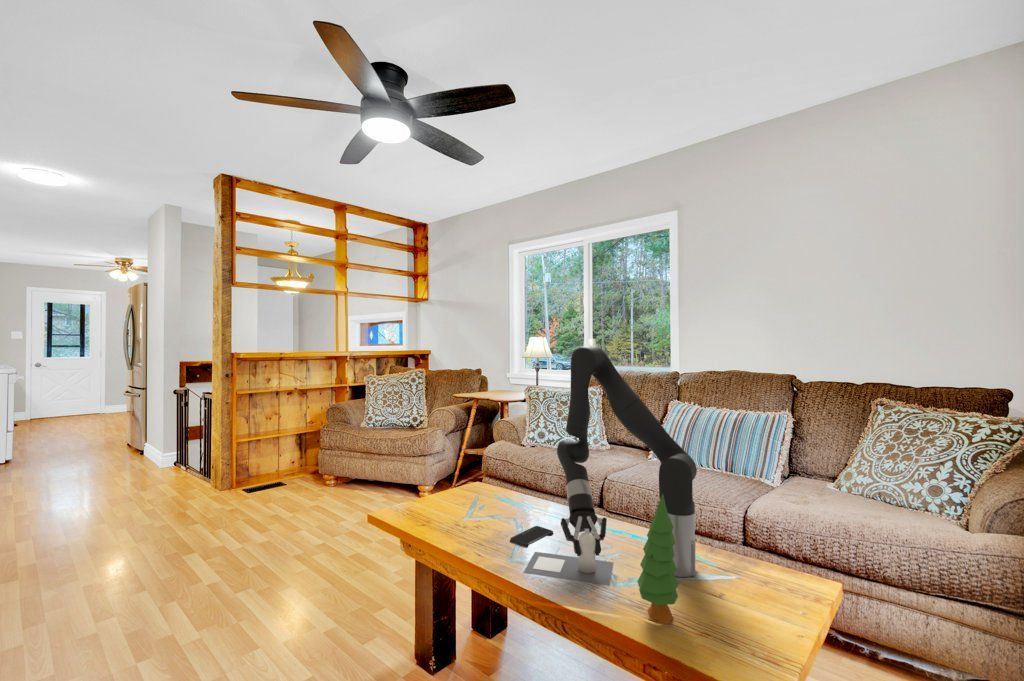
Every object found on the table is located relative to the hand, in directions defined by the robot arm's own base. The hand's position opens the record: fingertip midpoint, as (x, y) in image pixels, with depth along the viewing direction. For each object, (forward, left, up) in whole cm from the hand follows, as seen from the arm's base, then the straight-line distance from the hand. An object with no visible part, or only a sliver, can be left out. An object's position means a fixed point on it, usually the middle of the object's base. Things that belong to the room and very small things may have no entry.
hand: (588, 554), depth 133 cm
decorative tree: (-18, +15, -6) cm, 25 cm away
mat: (+6, -2, -6) cm, 8 cm away
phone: (+22, -21, -6) cm, 31 cm away
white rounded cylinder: (+1, -2, -5) cm, 5 cm away
